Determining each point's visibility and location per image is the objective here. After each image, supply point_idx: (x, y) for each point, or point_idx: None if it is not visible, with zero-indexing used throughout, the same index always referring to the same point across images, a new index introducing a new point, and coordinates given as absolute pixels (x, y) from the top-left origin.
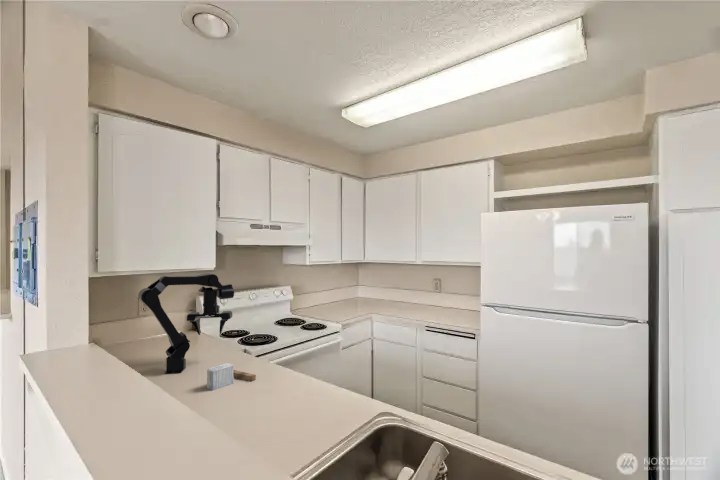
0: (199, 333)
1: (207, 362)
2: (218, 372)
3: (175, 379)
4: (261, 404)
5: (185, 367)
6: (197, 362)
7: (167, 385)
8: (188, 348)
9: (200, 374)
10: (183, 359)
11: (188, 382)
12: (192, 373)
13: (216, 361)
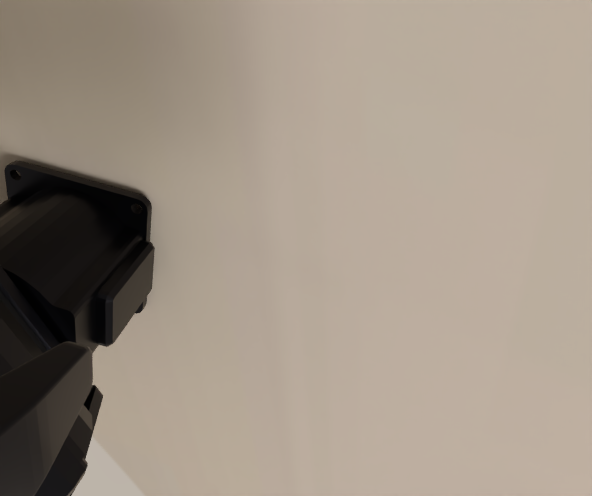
0: (68, 427)
1: (357, 101)
2: None
3: (146, 406)
4: None
5: (153, 252)
6: (239, 43)
7: (129, 465)
8: (84, 437)
9: (302, 401)
10: (98, 324)
11: (240, 483)
12: (239, 355)
13: (466, 110)
